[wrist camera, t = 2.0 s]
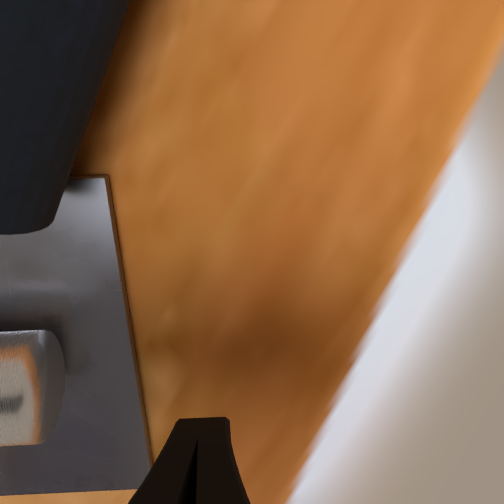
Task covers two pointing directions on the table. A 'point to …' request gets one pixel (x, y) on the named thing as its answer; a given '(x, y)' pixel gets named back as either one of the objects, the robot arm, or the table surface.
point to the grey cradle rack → (78, 348)
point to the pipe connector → (47, 98)
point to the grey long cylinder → (30, 386)
